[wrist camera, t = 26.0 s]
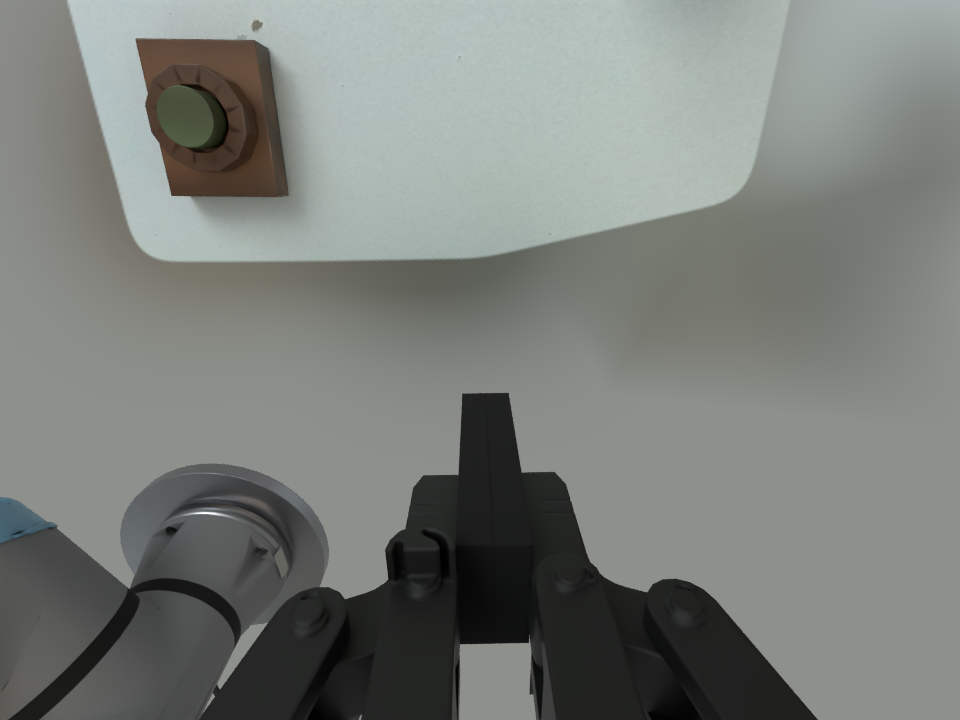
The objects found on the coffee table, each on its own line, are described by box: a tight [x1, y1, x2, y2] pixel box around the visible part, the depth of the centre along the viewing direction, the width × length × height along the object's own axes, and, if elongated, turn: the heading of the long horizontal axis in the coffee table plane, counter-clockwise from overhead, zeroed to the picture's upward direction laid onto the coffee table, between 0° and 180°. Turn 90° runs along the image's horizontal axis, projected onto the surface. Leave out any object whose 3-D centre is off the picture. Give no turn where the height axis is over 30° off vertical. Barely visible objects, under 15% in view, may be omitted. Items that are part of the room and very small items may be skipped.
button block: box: [136, 38, 288, 197], centre depth 33 cm, size 10×8×4 cm
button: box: [157, 85, 226, 149], centre depth 31 cm, size 4×4×2 cm
